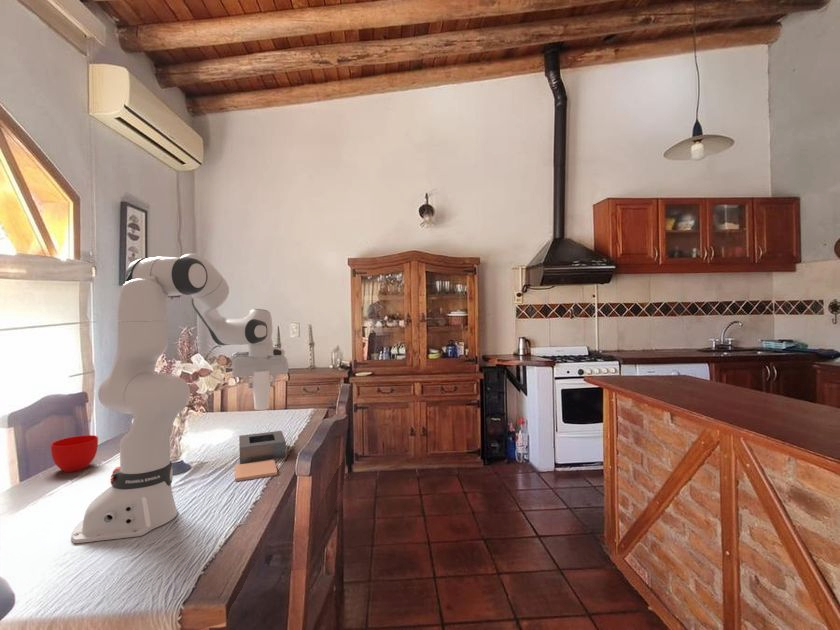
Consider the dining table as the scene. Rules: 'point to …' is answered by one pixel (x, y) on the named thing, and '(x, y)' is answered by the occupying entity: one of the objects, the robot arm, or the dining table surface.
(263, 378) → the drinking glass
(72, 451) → the red bowl
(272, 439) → the holder block
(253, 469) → the terracotta tile
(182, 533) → the dining table surface
